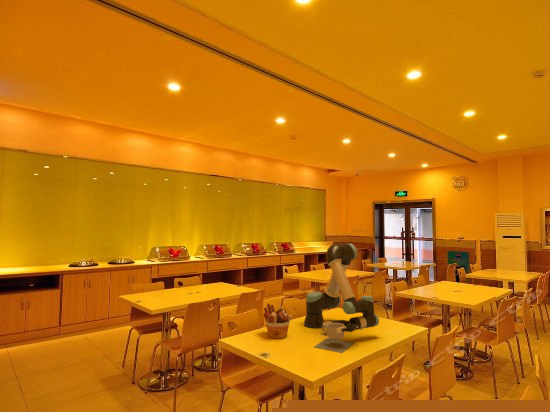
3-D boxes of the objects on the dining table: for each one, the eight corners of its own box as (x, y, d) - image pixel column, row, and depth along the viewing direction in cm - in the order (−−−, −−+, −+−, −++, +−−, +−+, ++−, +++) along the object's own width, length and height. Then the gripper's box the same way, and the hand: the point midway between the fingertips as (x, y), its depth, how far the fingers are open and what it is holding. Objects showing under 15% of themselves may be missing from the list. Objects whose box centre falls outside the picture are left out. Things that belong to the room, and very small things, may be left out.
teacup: (348, 338, 203) (347, 324, 204) (338, 342, 195) (338, 328, 196) (328, 333, 212) (328, 320, 213) (318, 338, 204) (318, 324, 205)
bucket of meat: (296, 336, 220) (296, 305, 222) (277, 342, 209) (277, 309, 211) (276, 330, 235) (276, 301, 237) (257, 335, 224) (257, 304, 226)
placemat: (313, 347, 200) (313, 346, 200) (327, 338, 217) (327, 337, 217) (342, 353, 190) (342, 352, 190) (354, 342, 207) (354, 342, 207)
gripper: (371, 334, 201) (343, 339, 191) (344, 324, 223) (318, 329, 213) (371, 321, 202) (342, 326, 192) (344, 313, 224) (317, 317, 214)
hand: (329, 327), depth 203 cm, fingers closed on teacup, 13 cm apart
